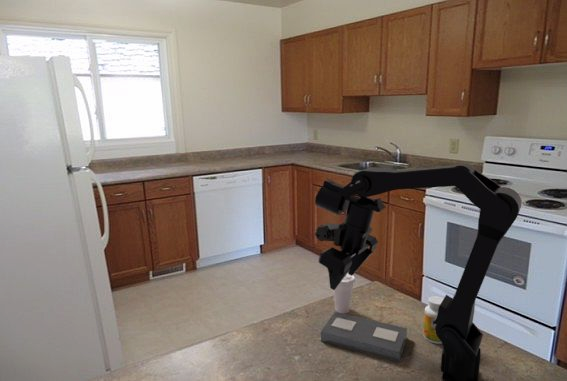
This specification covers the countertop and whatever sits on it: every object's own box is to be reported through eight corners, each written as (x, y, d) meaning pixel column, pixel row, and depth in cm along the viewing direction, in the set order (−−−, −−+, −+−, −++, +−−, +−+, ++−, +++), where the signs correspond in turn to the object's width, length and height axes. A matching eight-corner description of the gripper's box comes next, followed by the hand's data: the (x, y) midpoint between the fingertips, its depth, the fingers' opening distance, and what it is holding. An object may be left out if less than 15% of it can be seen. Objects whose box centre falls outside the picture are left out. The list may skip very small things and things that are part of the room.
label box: (406, 337, 90) (407, 327, 89) (398, 362, 81) (399, 350, 80) (334, 320, 98) (335, 310, 97) (320, 340, 89) (320, 330, 88)
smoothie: (354, 316, 99) (355, 267, 96) (329, 314, 100) (330, 265, 98) (354, 305, 105) (355, 257, 103) (331, 303, 107) (331, 256, 104)
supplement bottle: (422, 329, 93) (425, 293, 91) (446, 333, 91) (449, 296, 89) (423, 342, 88) (425, 303, 86) (448, 346, 86) (451, 307, 84)
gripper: (344, 201, 95) (331, 255, 101) (305, 218, 81) (292, 280, 86) (385, 217, 90) (369, 273, 95) (351, 239, 75) (334, 304, 80)
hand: (341, 281), depth 89 cm, fingers open, 9 cm apart
